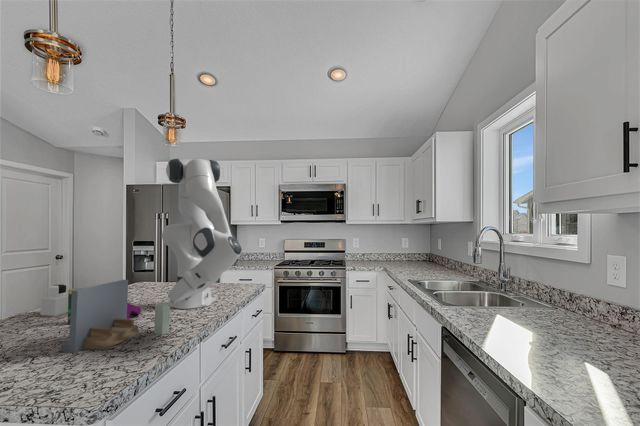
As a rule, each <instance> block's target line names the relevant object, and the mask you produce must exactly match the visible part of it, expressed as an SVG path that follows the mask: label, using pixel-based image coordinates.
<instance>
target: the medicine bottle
mask: <svg viewBox="0 0 640 426" xmlns="http://www.w3.org/2000/svg"><path fill="white" fill-rule="evenodd" d="M46 295H47V296H46V297H45V296H44V297H41V300H40V316H44V317H45V316H47V317H50V316H51V317H56V316H60V315H63V314H64V315H65V314H68V294H67V285H66V284H53V285H49V286H48V287H47V294H46Z"/></svg>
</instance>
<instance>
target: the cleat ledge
mask: <svg viewBox="0 0 640 426" xmlns="http://www.w3.org/2000/svg"><path fill="white" fill-rule="evenodd" d="M134 322H135V320H134V319H133V318H129V319H115V320H114V327H112V328H101V327H93V328H91V333H90V336H89V337H87V338H84V349H86V350H90V349H91V350H99V349H100V350H101V351H105V350H107V349H109V348H111V347H113V345H114V346H115V344H116V345H118V344H119V343H122V342H124V341H125V340H128V339H131V338H132V336H133V337H135V336H137V335H139V334H138V333H139V325H138V324H135V323H134Z"/></svg>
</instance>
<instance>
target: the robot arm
mask: <svg viewBox="0 0 640 426" xmlns="http://www.w3.org/2000/svg"><path fill="white" fill-rule="evenodd" d="M165 169H166V170H165V172H166V176H167V178H168V180H169V181H170V182H171V183H174V184H179V185H178V211H179V213H180V215H182V216H184V217H185V218H187V219H189V220H190V221H191V222H192V223H173V224H168V225H166V226H164V228H163V230H162V232H161V239H162V241H163V243H164V245H166V246H168V248H170V249H171V250H172V251H173V253H174V255H175V257H176V261H177V276H176V278H175V279H176V280H175V281H176V284H174V286H173V287H172V288H171V289H170V290H169V292H168V294H167V297H168V298H169V301H167V305H168V306H169V307H170V308H174V309H180V310H181V309H183V310H188V309H197V308H203V307H205V308H206V307H209V306H210V305H211V304H213V302H216V300H217V297H215V296H212V288H211V287H212V286H213V285H214V284H215V283H216V282H217V281H218V280H219V279H220V278H221V277H222V275H223V274H224V273H225V272H226V271H228V270H229V269H230V268H231V267H232V266H233V265H234V264H235V263H236V262H237V261H238V259H240V256H241V254H242V245H241V244H240V243H239V240H238V239H237V238H236V236H235V235H234V233H233V231H232V227H231V225H230V224H231V223H230V221H229V218H228V215H227V211H226V209H225V206H224V203H223V202H222V200H221V197H220V196H219V192H218V190H217V185H216V183H217V182H218V181H219V180H220V179H221V178H220V177H221V171H222V170H221V167H220V164H219V162H218V161H216V160H212V159H202V158H181V159H180V158H173V159H169V161H168V162H167V165H166V168H165ZM209 218H210V219H209ZM210 220H211V221H210ZM191 247H193V248H194V250H195V252H197V254H196V253H194V252H193V251H192V250H191Z"/></svg>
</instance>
